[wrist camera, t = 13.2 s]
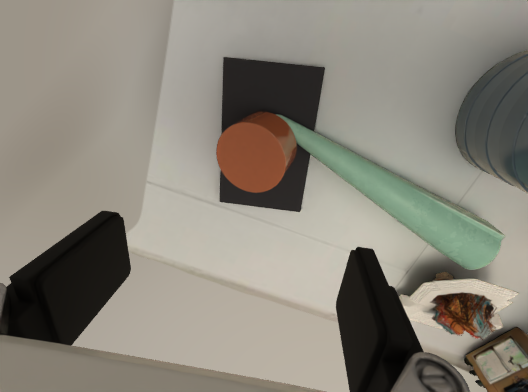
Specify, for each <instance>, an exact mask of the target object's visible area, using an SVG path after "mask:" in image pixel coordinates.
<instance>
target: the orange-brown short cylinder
mask: <svg viewBox="0 0 528 392" xmlns="http://www.w3.org/2000/svg"><path fill="white" fill-rule="evenodd" d="M296 149H297V144H296V138H295V135H294V133H293V131H292V129H291V127H290V126H289V125H288V124H287V122H285V121H284V120H283V119H282V118H281V117H279V116H277V115H275V114H273V113H269V112H255V113H252V114H250V115H248V116H246V117H245V118H243V119H241V120H240V121H238V122H237V123H235V124H233V125H232V126H230V127H229V128H227V129H226V130H225V131H224V132H223V133H222V135H221V136H220V138H219V141H218V144H217V152H216V153H217V160H218V164H219V167H220V169H221V171H222V172H223V174H224V175H225V177H226V178H227V179H228V180H229V181H230V182H231V183H232V184H234V185H235V186H236V187H238V188H240V189H242V190H245V191H248V192H255V193H258V192H265V191H268V190H270V189H272V188H274V187H275V186H276V185H277V184H278V183H279V182H280V181H281V179H282V178H283V176H284V175H285V173H286V172H287V170H288V168H289V167H290V165H291V164H292V162H293V160H294V158H295V155H296Z"/></svg>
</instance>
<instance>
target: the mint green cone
mask: <svg viewBox="0 0 528 392" xmlns="http://www.w3.org/2000/svg"><path fill="white" fill-rule="evenodd" d="M276 115H277V116H279V117H281V118H282V119H283V120H284V121H285V122H287V124H288V125H289V126H290V127H291V129H292V131H293V133H294V135H295V138H296V143H297V144H298V145H300V146H301V147H302V148H304V149H305V150H306V151H307V152H309V153H310V154H311V155H313V156H314V157H315V158H317V159H318V160H319V161H321V162H322V163H323V164H325V165H326V166H327V167H328V168H330V169H331V170H332V171H334V172H335V173H336V174H338V175H339V176H340V177H342V178H343V179H344V180H346V181H347V182H348V183H350V184H351V185H352V186H353V187H355V188H356V189H357V190H359V191H360V192H361V193H363V194H364V195H365V196H367V197H368V198H369V199H371V200H372V201H373V202H375V203H376V204H377V205H378V206H380V207H381V208H382V209H384V210H385V211H386V212H388V213H389V214H390V215H392V216H393V217H394V218H395V219H397V220H398V221H399V222H401V223H402V224H403V225H405V226H406V227H407V228H409V229H410V230H411V231H412V232H414V233H415V234H416V235H418V236H419V237H420V238H422V239H423V240H424V241H426V242H427V243H428V244H430V245H431V246H432V247H434V248H435V249H436V250H438V251H439V252H441V253H442V254H444V255H445V256H447V257H448V258H450V259H451V260H453V261H454V262H456V263H457V264H459V265H460V266H462V267H463V268H465V269H469V270H475V269H480V268H482V267H485V266H486V265H488V264H489V263H491V262H492V261H493V260H494V258H495V257H496V256H497V254H498V252H499V250H500V246H501V240H502V239H503V238H505V237H506V236H505V235H504V234H502V233H501V232H500V231H499V230H498V229H496V228H495V227H494V226H493V225H491V224H490V223H489V222H488V221H486V220H484V219H482V218H480V217H478V216H476V215H474V214H472V213H470V212H468V211H466V210H464V209H462V208H460V207H458V206H457V205H455V204H453V203H451V202H449V201H447V200H445V199H443V198H441V197H439V196H437V195H435V194H433V193H431V192H429V191H427V190H425V189H423V188H421V187H419V186H417V185H415V184H413V183H411V182H409V181H407V180H405V179H403V178H401V177H399V176H397V175H395V174H394V173H392V172H390V171H388V170H386V169H384V168H382V167H380V166H378V165H376V164H375V163H373V162H371V161H369V160H367V159H365V158H363V157H361V156H359V155H357V154H356V153H354V152H352V151H350V150H348V149H346V148H344V147H342V146H340V145H338V144H336V143H335V142H333V141H331V140H329V139H327V138H325V137H323V136H321V135H319V134H317V133H315V132H314V131H312V130H310V129H308V128H306V127H304V126H302V125H300V124H298V123H296V122H294V121H292V120H290V119H288V118H286V117H284V116H282V115H279V114H276Z"/></svg>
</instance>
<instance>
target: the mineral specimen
mask: <svg viewBox="0 0 528 392" xmlns="http://www.w3.org/2000/svg"><path fill="white" fill-rule="evenodd" d="M436 277H437V278H436V279H435V280H436V281H431V282H425V283H423V284H422V285H421V286H420V287H419V288H418V289H417V290H416V291H415V292H414V293H413V294H412V295H411V296H407V295H402V294H401V295H400V296H399V298H400V301H401V303H402V305H403V307H404V309H405V312H406V314H407V316H408V318H409V319H410V320H414V321H417V322H420V323H423V324H426V325H429V326H433V327H436V328H443V329H446V331H447V332H448V331H449V332H450V334H452V333H453V334H455V333H456V334H458V335H459V334H462V333H463V332H464V331H465V330H466V332H468V333H471V335H473V336H472V337H474V336H475V338H481V337H482V338H481V339H482V340H483V339H484V338H486V335H487V336H488V334H490V329H492V330H491V332H493V331H495V330H498V329H500V328H502V327H503V324H502V321H501V319H500V316H499V314H495V313H497V312H498V311H500V310H502V309H504V308H505V307H507V306H509V305H510V304H512V303H513V302H511V301H508V300H509V299H511V298H513V297H514V296H516V295H517V294H519V293H518V292H515V291H512V290H509V289H506V288H503V287H500V286H497V285H494V284H491V283H488V282H484V281H481V280H478V279H475V278H474V279H458V280H454V278H453V276H452V275H450V274H449V273H447V272H442V273H438V274H436ZM437 303H438V304H437ZM439 304H440V305H439ZM437 305H439V306H437ZM462 331H463V332H462ZM461 336H462V335H461Z"/></svg>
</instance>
